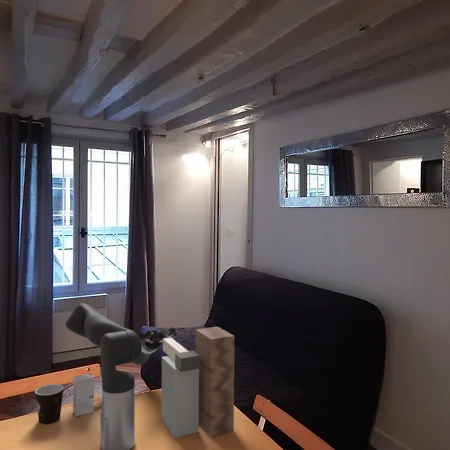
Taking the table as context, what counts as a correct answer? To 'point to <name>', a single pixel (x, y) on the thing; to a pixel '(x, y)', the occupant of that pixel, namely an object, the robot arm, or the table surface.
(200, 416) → the brown tall block
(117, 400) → the robot arm
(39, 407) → the coffee mug
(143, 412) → the table surface
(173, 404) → the pale green block
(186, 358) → the bar
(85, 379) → the skincare box
